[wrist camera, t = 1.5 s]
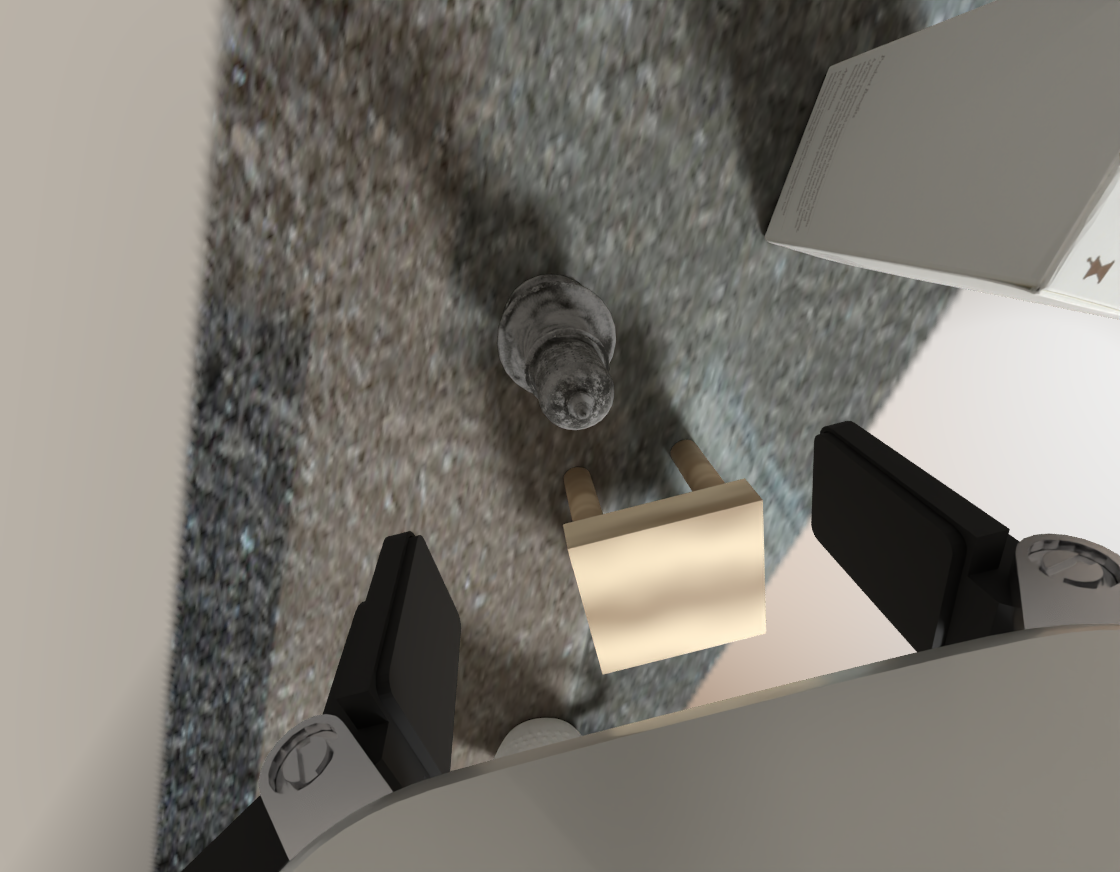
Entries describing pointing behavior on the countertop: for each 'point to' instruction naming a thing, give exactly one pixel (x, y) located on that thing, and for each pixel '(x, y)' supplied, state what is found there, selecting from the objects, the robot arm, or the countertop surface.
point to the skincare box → (972, 157)
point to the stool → (669, 565)
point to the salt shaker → (560, 349)
